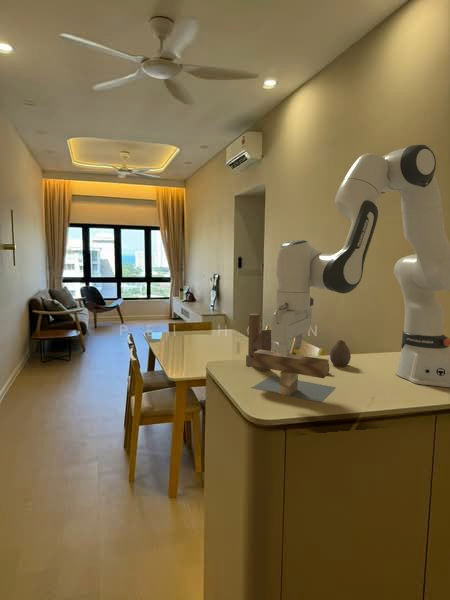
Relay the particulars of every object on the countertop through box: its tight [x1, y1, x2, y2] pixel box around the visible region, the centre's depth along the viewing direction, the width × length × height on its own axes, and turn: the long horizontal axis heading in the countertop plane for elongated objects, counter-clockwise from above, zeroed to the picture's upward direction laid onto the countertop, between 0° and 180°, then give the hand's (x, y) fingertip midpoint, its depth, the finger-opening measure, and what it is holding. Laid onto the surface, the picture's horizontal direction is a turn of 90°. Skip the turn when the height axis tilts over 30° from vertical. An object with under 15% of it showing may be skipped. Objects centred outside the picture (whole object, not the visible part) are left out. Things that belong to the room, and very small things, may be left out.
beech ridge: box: [279, 371, 299, 397], centre depth 108 cm, size 3×6×6 cm, turn 149°
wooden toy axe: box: [245, 313, 272, 372], centre depth 131 cm, size 4×11×18 cm, turn 25°
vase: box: [329, 339, 352, 368], centre depth 138 cm, size 7×7×9 cm
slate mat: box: [251, 375, 337, 404], centre depth 112 cm, size 20×14×1 cm
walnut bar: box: [253, 350, 330, 379], centre depth 107 cm, size 20×4×4 cm, turn 60°
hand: (291, 352), depth 107 cm, fingers open, 8 cm apart
